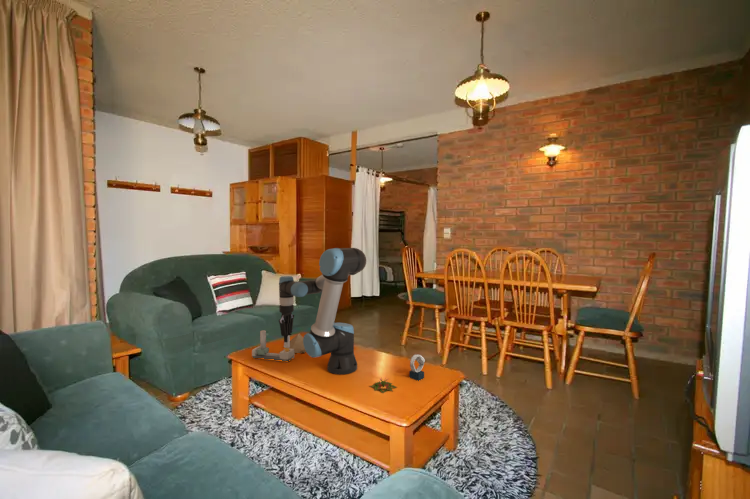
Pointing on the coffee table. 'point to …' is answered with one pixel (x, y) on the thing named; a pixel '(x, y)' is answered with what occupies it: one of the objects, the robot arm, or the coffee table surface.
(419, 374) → the watch
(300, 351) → the model pyramid
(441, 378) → the coffee table surface
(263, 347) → the carriage
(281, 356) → the rail bench
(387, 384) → the green leafy ornament
